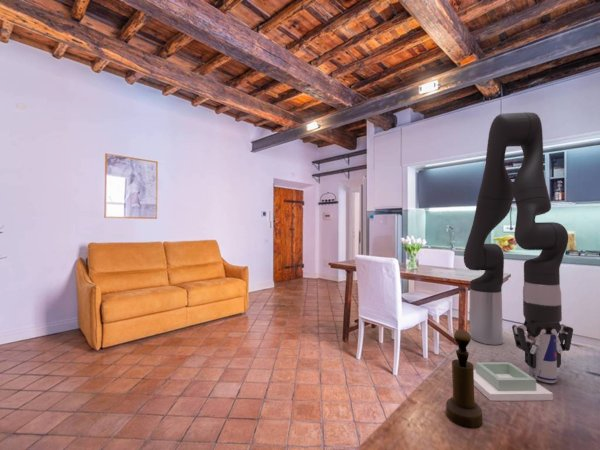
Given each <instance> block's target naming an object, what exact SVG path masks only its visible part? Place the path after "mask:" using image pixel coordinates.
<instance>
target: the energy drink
mask: <svg viewBox="0 0 600 450" xmlns="http://www.w3.org/2000/svg"><path fill="white" fill-rule="evenodd" d="M529 338H530V339H531V340H533V341H534V340H535V338H536V337H535V338H534V337H532V336H530V335H529ZM530 346H531V343H530ZM535 354H536V368H531V367H529V375H530V376H531V377H533V378H534V379H536V381H539V382H543V383H547V384H554V383H556V382H557V381H558V368H557V345H556V335H555V334H543V335H541V336H540V345H539V346H537V348H536V351H535Z"/></svg>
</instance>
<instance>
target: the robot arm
mask: <svg viewBox="0 0 600 450" xmlns="http://www.w3.org/2000/svg"><path fill="white" fill-rule="evenodd" d="M543 137H544V136H543V126H542V121H541V118H540V116H539V115H538V114H537V113H536V112H525V111H524V112H509V113H507V112H506V113H499V114H497V115H496V116H495V118H494V119H493V120H492V122H491V125H490V128H489V131H488V138H487V147H486V155H485V163H484V168H483V169H484V171H483V173H482V174H483V175H482V179H481V184H480V188H479V192H478V196H477V201H476V207H475V213H474V216H473V220H472V221H473V222H472V224H471V225H472V226H471V229H470V231H469V235H468V238H467V240H466V244H465V248H464V252H463V263H464V266H465V267H466V268H467V269H468V270H470V271H484V272H483V274H482V275H480V276H479V277H476V278H473V279H471V280H470V282H469V297H470V299H469V301H470V302H469V305H470V308H469V334H470V333H471V335H470V337H471V339H472V340H473V341H476V342H477V343H481V344H486V345H494V346H497V345H503V342H504V340H503V339H504V338H503V291H502V290H503V288H502V287H503V285H504V272H505V271H504V269H505V268H504V267H505V256H504V251H503V249H502V247H501V246H500V245H499V244H497V243H485V242H486V240H487V238H488V237H489V235H490V233H491V232H492V231H493V230H494V229H495V228H496V227H497V226H498V225H499V224H501V222H502V221H503V220H504V219H505V218H506V217H507V216H508V215H509V213H510V212H511V208H512V206H513V205H512V204H513V201H515V206H516V220H515V226H514V234H513V235H514V240H515V242H516V244H517V245H518V247H520V248H521V249H523V250H525V251H526V250H527V251H541V252H539V253H540V254H539V256H537V257H533V258H530V259H526V260H525V261H524V263H523V287H522V288H523V289H522V302H523V303H522V305H523V306H522V310H523V311H522V313H523V317H524V322H523V324H521V325H516V324H513V325H512V327H511V329H512V334H513V338H514V342H515V347H516V348H518V349H520V350H522V352H524V362H525V364H526V365H527V366H528V367H529V368H530V367H531V368H536V354H535V351H536V348H537V346H539V345H540V336H541V335H543V334H555V335H556V345H557V369H559V368H560V367H561V365H562V353H563V352H565V351H566V352H569V351H570V350H571V349H570V348H571V345H572V340H573V339H572V338H573V334H574V328H573V327H571V326H569V325H567V324H563V323H562V324H561V323H560V322H562V320H563V318H562V317H563V316H562V313H563V312H562V290H561V286H560V285H561V284H560V283H561V282H560V281H561V280H560V279H561V277H560V268H561V264H562V262H563V259H564V256H565V253H566V251H567V247H568V244H569V234H568V231H567V229H566V227H565V226H564V225H562V224H561V223H559V222H556V221H555V222H553V221H551V222H548V221H546V222H542V221H541V222H536V216H541V215H545V214H547V213H548V212H550V211H551V208H552V203H551V199H550V198H551V197H550V195H549V191H548V186H547V182H546V177H545V172H544V171H545V170H544V169H545V168H544V140H543V139H544V138H543ZM507 147H508V148H509V147H510V148H511V147H520V148H521V151H522V153H523V154H522V155H523V159H522V162H521V166H520V167H519V170H518V172H517V173H516V176H515V178H514V180H513V181H512V179H511V177H510V175H509V172H508V171H507V169H506V168H507V167H506V164H505V159H506V151H507ZM529 335H530V336H532V337H534V338H535V337H536V338H535V340H534V341H533V340H531V339H530V338H529ZM530 343H531V346H530Z"/></svg>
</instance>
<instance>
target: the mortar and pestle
mask: <svg viewBox="0 0 600 450" xmlns="http://www.w3.org/2000/svg"><path fill="white" fill-rule="evenodd" d="M453 339H454V341H455V342H456V345H457V346H458V349H456V350H455V351H456V353H455V354H456V357H457V359H456V358H455V359H452V360H451V373H452V374H451V375H452V376H451V378H452V381H451V382H452V396H451V397H449V398H448V399H447V400H446V404H445V408H446V409H445V412H446V416H447V417H448V419H449V420H450V421H452V422H453V423H455V424H457V425H459V426H461V427H464V428H471V429H472V428H479V427H480V426H482V424H483V410H482V408H481V406H480V405H478V404H477V402H476V401H475V386H474V370H475V369H474V367H475V366H474V364H473V363H472V362H470V361H468V359H469V353H470V352H469V351H468V350H467V347H468V345H469V343H470V342H471V339H472V338H471V335H470V332H468V331H467V330H465V329H456V330H455V331H454V333H453Z"/></svg>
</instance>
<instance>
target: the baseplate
mask: <svg viewBox="0 0 600 450" xmlns="http://www.w3.org/2000/svg"><path fill="white" fill-rule="evenodd" d="M474 388H476V389H477V390H478V391H479V392H480V393H481V394H482V395H484V396H485V398H487V399H488V401H490V402H492V401H493V402H495V401H498V402H499V401H500V402H501V401H502V402H503V401H506V402H509V401H512V402H514V401H522V402H523V401H554V393H553V392H551V391H550V390H548V389H547V388H546V387H544V386H542V385H541V384H539V383H537V380H536V379H535V378H533V377H532V376H531V375H530V374H528V373H527V372H525V371H524V370H522V369H521V368H519V367H518V366H516V365H514V364H513V363H511V362H510V361H506V362H505V361H503V362H501V361H498V362H497V361H496V362H492V361H491V362H490V361H489V362H488V361H487V362H486V361H485V362H483V361H482V362H479V361H478V362H477V361H476V362H475V369H474Z"/></svg>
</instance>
